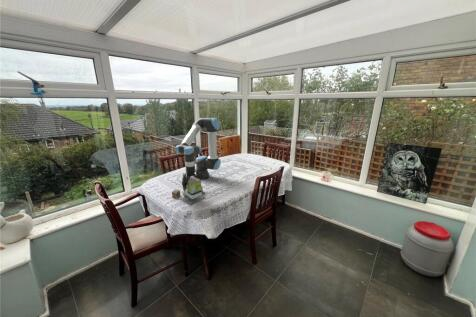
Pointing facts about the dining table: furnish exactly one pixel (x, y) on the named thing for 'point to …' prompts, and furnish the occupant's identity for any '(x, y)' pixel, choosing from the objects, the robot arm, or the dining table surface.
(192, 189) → the tea box
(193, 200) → the slate mat
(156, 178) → the dining table surface
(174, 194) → the walnut block
